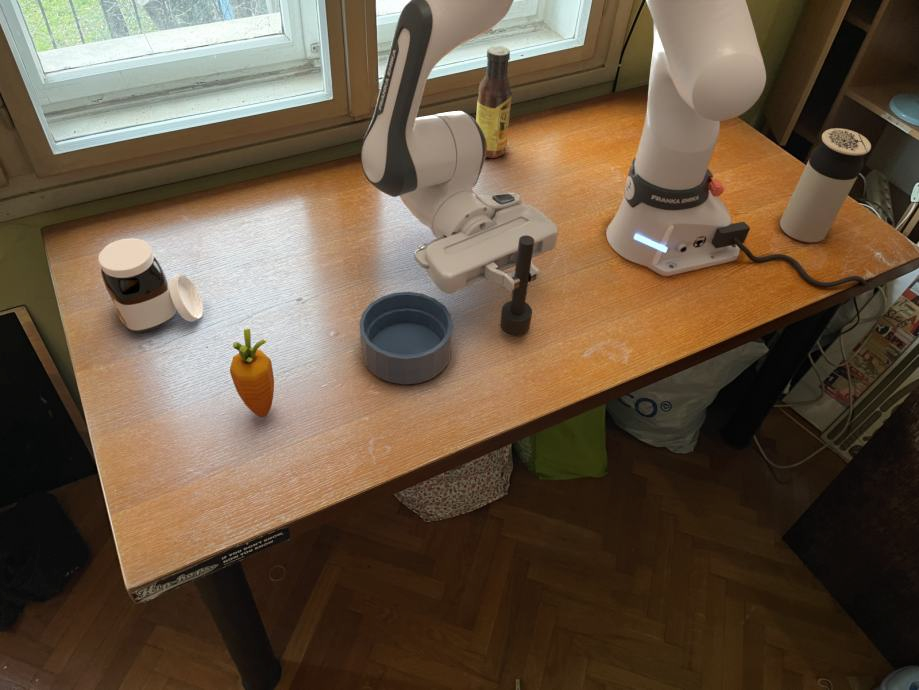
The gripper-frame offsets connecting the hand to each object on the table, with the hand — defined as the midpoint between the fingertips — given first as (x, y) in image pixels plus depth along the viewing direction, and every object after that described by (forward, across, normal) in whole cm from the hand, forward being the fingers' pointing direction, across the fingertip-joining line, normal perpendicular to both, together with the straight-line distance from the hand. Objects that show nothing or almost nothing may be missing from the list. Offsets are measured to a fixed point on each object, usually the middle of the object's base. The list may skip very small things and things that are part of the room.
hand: (525, 281), depth 99 cm
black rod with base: (-1, 0, +10) cm, 10 cm away
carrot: (-6, -38, +11) cm, 40 cm away
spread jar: (-32, -42, +11) cm, 54 cm away
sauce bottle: (-43, +26, +11) cm, 51 cm away
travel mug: (+6, +59, +12) cm, 61 cm away
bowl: (-6, -16, +11) cm, 20 cm away
